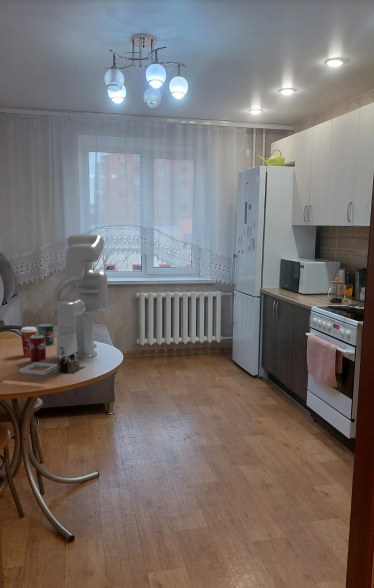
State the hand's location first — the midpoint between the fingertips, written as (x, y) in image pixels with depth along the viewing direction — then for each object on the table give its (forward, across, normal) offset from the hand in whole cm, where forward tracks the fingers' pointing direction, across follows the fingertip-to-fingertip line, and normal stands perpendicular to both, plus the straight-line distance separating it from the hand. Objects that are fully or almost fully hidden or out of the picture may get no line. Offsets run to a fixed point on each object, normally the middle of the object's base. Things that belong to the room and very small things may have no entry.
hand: (68, 369), depth 208 cm
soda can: (+2, -12, -23) cm, 26 cm away
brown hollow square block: (0, 0, 0) cm, 0 cm away
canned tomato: (+2, -43, -38) cm, 57 cm away
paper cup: (+2, -20, -33) cm, 39 cm away
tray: (+1, +4, -12) cm, 13 cm away
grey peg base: (+1, 0, 0) cm, 1 cm away
